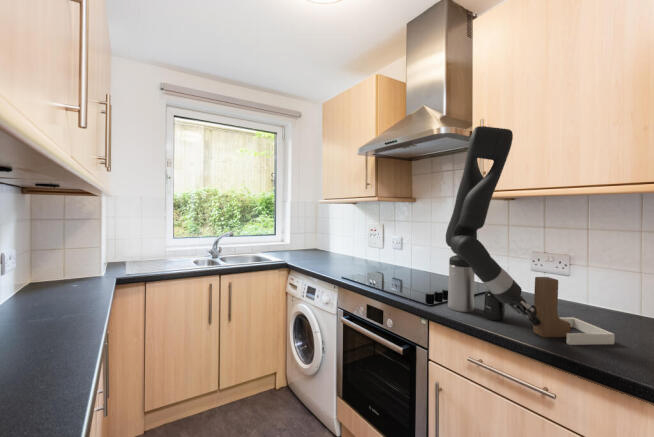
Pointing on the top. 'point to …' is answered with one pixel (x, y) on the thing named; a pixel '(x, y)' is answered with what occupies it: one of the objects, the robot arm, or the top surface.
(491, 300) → the supplement bottle
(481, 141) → the robot arm
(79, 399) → the top surface
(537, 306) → the wooden block
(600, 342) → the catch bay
